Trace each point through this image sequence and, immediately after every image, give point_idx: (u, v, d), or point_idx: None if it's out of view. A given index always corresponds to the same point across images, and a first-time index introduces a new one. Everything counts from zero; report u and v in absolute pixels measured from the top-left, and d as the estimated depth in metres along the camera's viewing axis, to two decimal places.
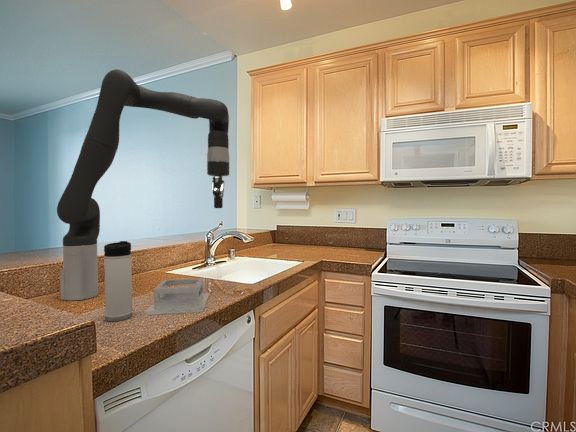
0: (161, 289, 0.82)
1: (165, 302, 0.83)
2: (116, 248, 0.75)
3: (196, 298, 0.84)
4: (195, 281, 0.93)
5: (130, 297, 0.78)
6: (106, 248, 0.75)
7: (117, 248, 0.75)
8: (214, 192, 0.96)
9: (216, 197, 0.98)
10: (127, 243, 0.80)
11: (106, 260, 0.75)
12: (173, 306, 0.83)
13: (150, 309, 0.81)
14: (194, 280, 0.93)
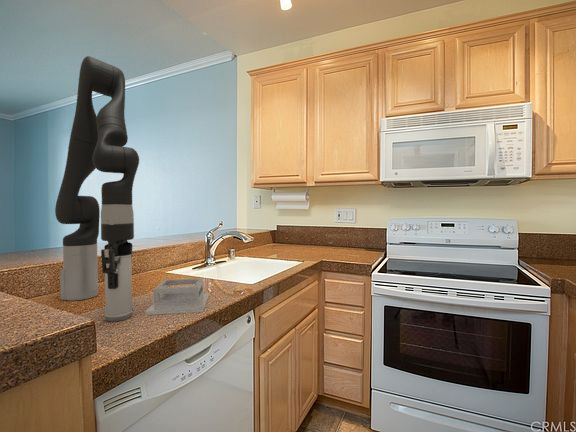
0: (161, 289, 0.82)
1: (165, 302, 0.83)
2: None
3: (196, 298, 0.84)
4: (195, 281, 0.93)
5: (130, 297, 0.78)
6: (106, 248, 0.75)
7: None
8: (104, 270, 0.72)
9: (110, 275, 0.74)
10: (127, 243, 0.80)
11: None
12: (173, 306, 0.83)
13: (150, 309, 0.81)
14: (194, 280, 0.93)
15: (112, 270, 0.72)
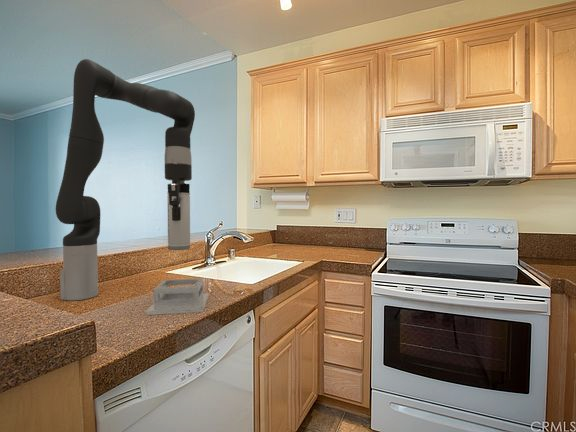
0: (161, 289, 0.82)
1: (165, 302, 0.83)
2: None
3: (196, 298, 0.84)
4: (195, 281, 0.93)
5: (189, 231, 0.88)
6: None
7: (180, 185, 0.85)
8: (171, 202, 0.82)
9: (174, 208, 0.83)
10: None
11: None
12: (173, 306, 0.83)
13: (150, 309, 0.81)
14: (194, 280, 0.93)
15: (177, 202, 0.82)
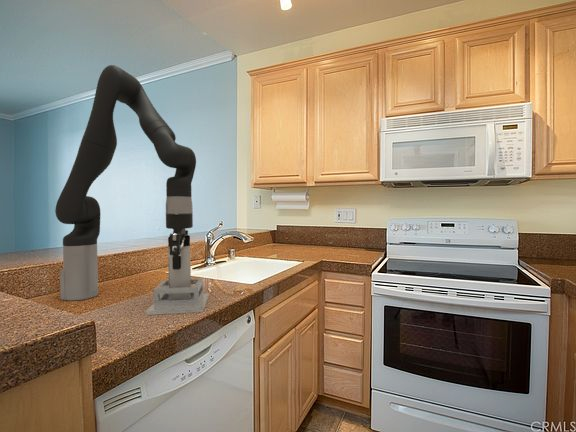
0: (161, 289, 0.82)
1: (165, 302, 0.83)
2: None
3: (196, 298, 0.84)
4: (195, 281, 0.93)
5: (190, 283, 0.89)
6: None
7: None
8: (171, 252, 0.81)
9: (174, 257, 0.83)
10: None
11: None
12: (173, 306, 0.83)
13: (150, 309, 0.81)
14: (194, 280, 0.93)
15: (178, 252, 0.81)
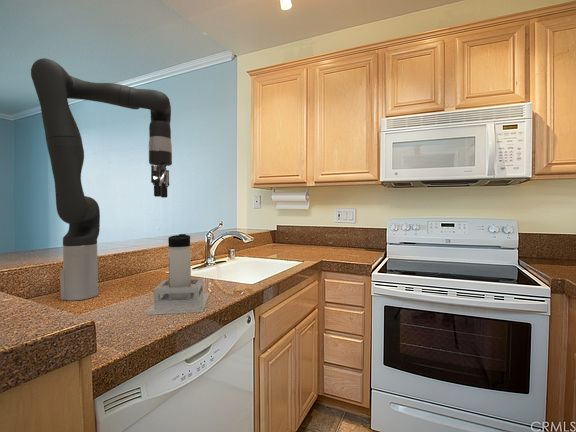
0: (161, 289, 0.82)
1: (165, 302, 0.83)
2: (180, 240, 0.85)
3: (196, 298, 0.84)
4: (195, 281, 0.93)
5: (190, 283, 0.88)
6: (171, 240, 0.85)
7: (181, 240, 0.85)
8: (152, 180, 0.98)
9: (155, 185, 1.00)
10: (186, 236, 0.91)
11: (171, 250, 0.85)
12: (173, 306, 0.83)
13: (150, 309, 0.81)
14: (194, 280, 0.93)
15: (158, 180, 0.98)
